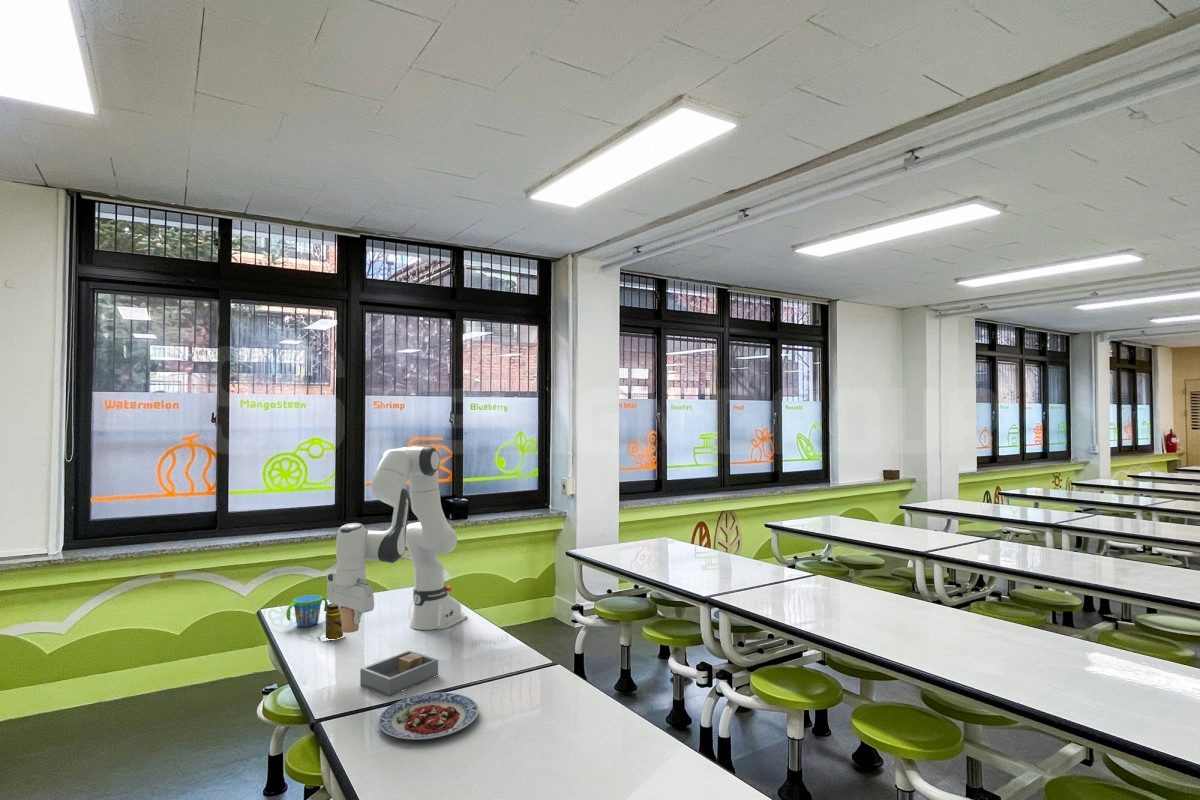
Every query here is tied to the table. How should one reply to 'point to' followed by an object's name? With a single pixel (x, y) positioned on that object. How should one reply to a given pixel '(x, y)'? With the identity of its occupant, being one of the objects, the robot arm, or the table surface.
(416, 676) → the tote
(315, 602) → the snack cup
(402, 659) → the walnut cube
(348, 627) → the terracotta cylinder
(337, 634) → the condiment
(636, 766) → the table surface
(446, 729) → the ceramic plate
